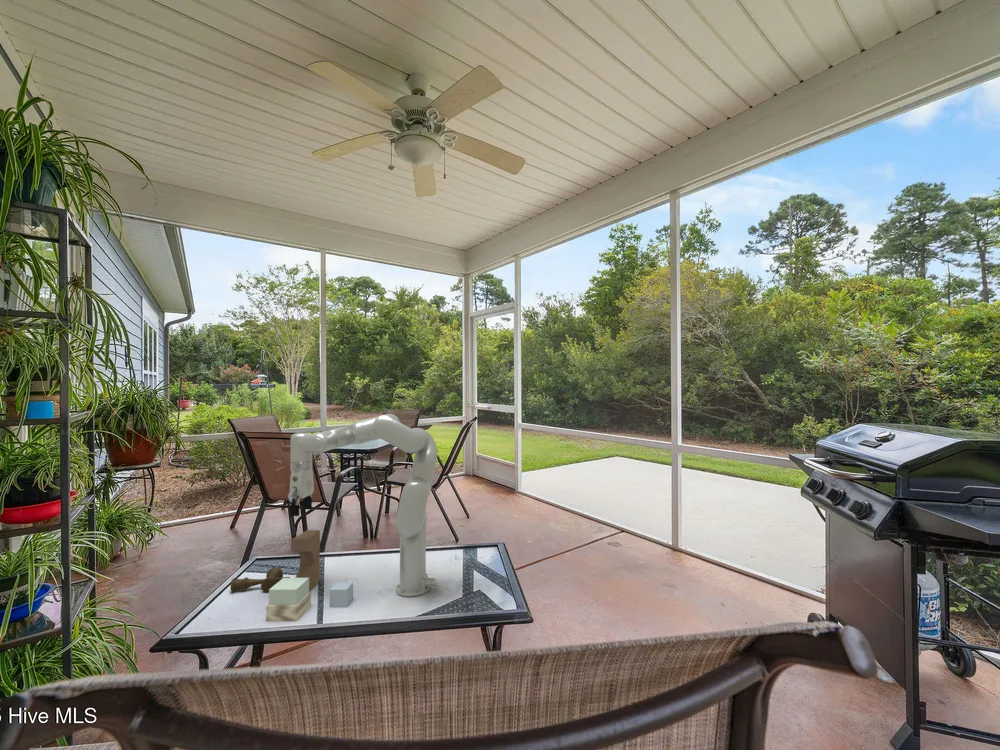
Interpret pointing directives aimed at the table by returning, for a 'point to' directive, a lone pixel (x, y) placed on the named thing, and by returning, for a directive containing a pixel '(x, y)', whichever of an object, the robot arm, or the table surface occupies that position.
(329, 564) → the table surface
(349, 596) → the grey-blue cube
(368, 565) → the table surface
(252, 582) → the kendama
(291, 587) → the upper tower block
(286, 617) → the lower tower block
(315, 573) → the decorative block
